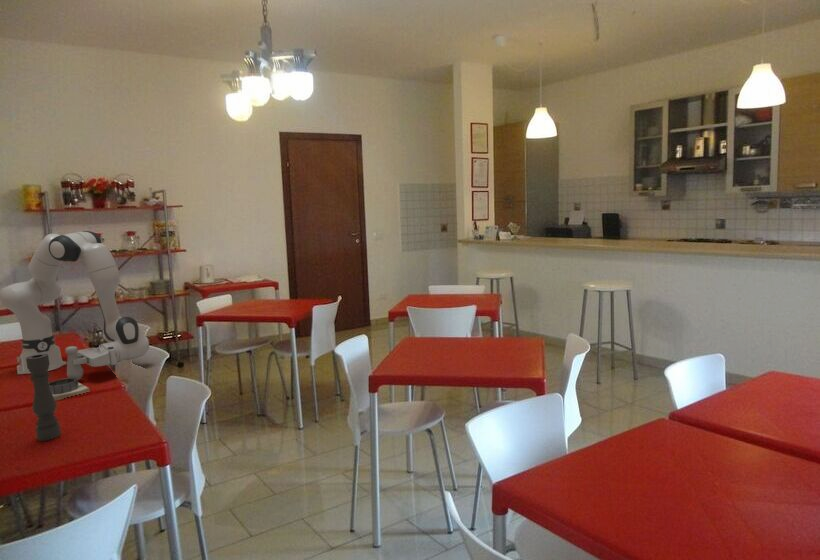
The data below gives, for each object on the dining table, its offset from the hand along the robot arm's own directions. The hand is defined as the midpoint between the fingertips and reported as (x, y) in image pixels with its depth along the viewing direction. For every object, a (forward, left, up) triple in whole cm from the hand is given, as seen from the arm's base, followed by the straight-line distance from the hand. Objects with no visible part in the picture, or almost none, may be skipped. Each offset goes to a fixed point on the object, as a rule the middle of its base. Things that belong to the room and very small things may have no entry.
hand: (70, 361), depth 235 cm
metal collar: (+12, -7, -7) cm, 16 cm away
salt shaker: (0, +1, -8) cm, 8 cm away
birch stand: (+12, -7, -9) cm, 17 cm away
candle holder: (+57, -23, -9) cm, 62 cm away
